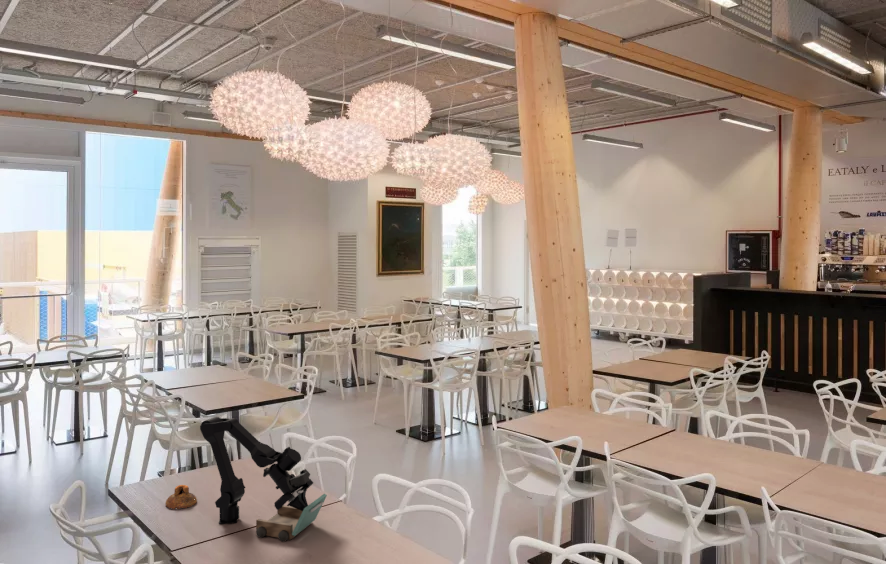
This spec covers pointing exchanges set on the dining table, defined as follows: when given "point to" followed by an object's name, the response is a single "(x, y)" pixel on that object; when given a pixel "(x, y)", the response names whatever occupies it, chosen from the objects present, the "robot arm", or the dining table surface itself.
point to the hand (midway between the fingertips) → (308, 512)
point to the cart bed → (280, 524)
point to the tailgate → (309, 514)
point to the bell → (181, 498)
